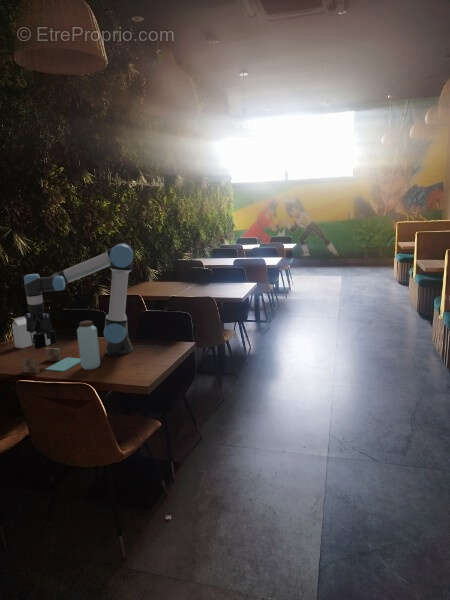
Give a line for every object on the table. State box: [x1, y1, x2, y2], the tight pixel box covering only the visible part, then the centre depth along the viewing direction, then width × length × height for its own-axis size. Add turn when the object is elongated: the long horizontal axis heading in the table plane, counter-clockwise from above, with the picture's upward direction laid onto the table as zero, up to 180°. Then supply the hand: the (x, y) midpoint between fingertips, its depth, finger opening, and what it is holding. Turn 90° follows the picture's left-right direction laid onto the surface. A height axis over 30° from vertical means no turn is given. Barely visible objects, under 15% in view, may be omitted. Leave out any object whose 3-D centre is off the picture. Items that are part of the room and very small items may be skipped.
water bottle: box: [76, 320, 101, 371], centre depth 220 cm, size 10×10×25 cm
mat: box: [45, 357, 81, 373], centre depth 227 cm, size 12×18×1 cm, turn 163°
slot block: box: [21, 347, 63, 374], centre depth 226 cm, size 9×20×7 cm, turn 164°
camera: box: [32, 329, 57, 350], centre depth 225 cm, size 14×7×8 cm, turn 154°
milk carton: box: [11, 315, 33, 349], centre depth 261 cm, size 7×7×19 cm
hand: (41, 344), depth 224 cm, fingers closed on camera, 8 cm apart
